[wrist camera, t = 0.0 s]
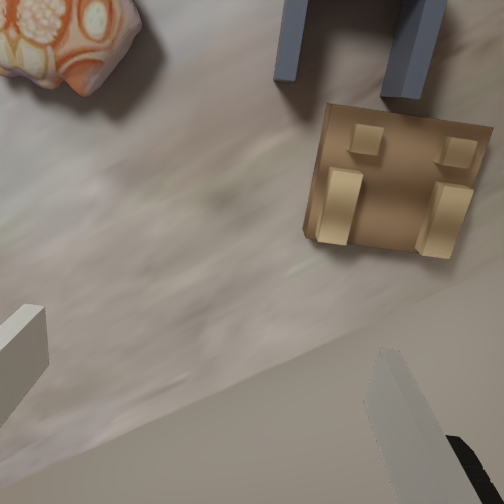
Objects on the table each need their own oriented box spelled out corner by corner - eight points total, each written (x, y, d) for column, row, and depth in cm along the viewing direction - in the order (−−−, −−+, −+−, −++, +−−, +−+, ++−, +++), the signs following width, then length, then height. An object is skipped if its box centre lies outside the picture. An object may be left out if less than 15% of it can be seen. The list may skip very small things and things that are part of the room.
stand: (327, 103, 38) (336, 104, 33) (476, 124, 38) (506, 129, 34) (302, 228, 43) (307, 245, 38) (435, 246, 43) (456, 265, 39)
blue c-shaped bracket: (292, -52, 33) (298, -81, 28) (429, -30, 34) (462, -54, 28) (273, 80, 37) (275, 78, 32) (396, 98, 38) (419, 99, 32)
